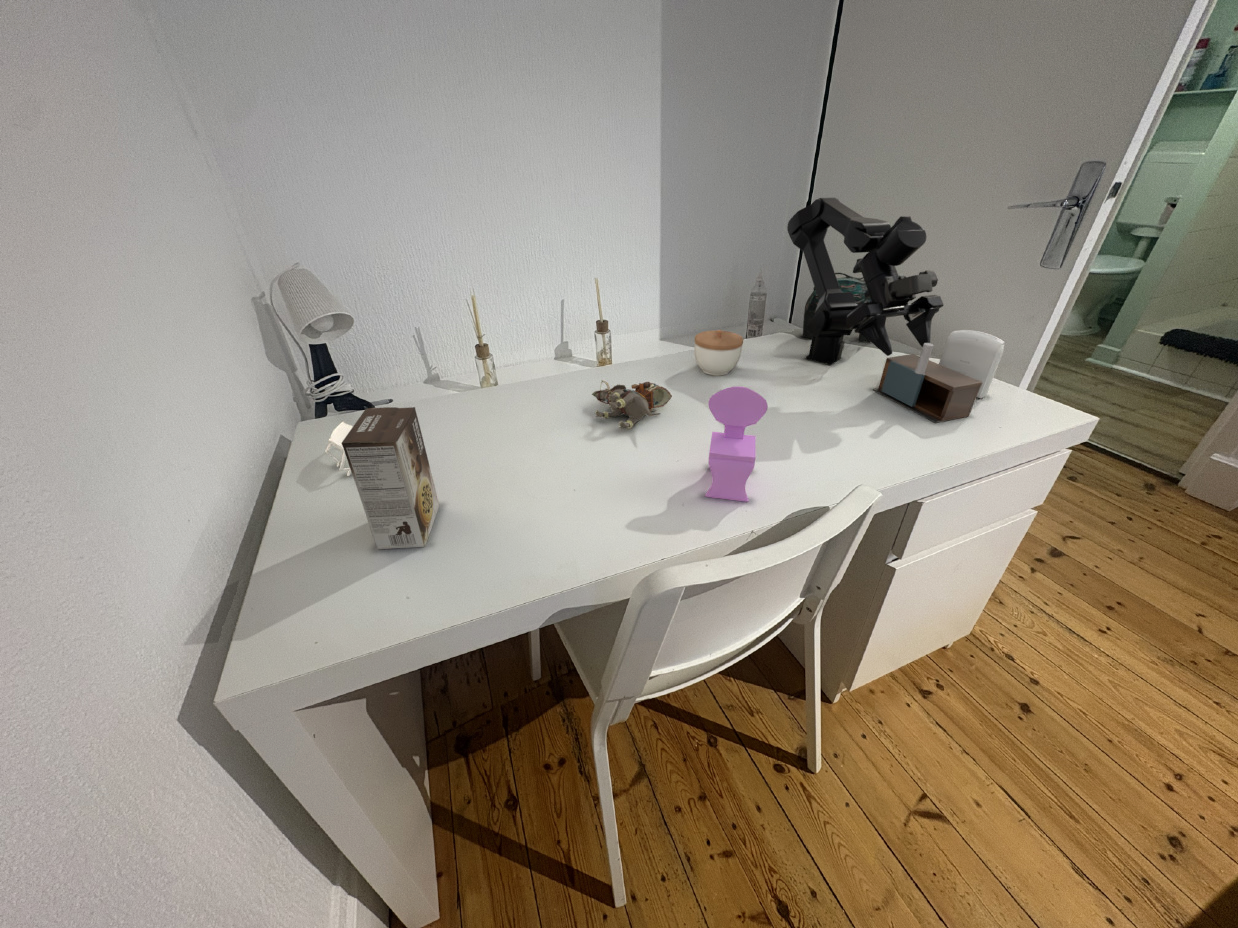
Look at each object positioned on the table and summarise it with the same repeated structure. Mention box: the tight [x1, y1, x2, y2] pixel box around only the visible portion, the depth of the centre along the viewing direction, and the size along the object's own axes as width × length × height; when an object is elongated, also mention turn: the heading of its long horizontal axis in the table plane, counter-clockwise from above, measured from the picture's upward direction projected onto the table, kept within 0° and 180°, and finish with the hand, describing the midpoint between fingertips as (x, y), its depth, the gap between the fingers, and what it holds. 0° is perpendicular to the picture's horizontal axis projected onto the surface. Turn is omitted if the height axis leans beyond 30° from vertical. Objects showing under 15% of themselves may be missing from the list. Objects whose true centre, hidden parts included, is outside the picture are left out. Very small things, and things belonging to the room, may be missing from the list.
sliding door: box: [881, 342, 934, 407], centre depth 99 cm, size 8×2×12 cm, turn 19°
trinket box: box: [693, 329, 744, 377], centre depth 115 cm, size 11×11×9 cm
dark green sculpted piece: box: [802, 272, 872, 343], centre depth 131 cm, size 20×6×20 cm, turn 77°
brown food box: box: [341, 406, 440, 550], centre depth 66 cm, size 9×6×16 cm
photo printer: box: [938, 329, 1006, 399], centre depth 104 cm, size 10×4×12 cm, turn 39°
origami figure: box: [324, 421, 354, 477], centre depth 85 cm, size 12×8×5 cm
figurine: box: [591, 380, 673, 430], centre depth 99 cm, size 20×6×17 cm
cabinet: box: [872, 353, 982, 424], centre depth 101 cm, size 16×8×7 cm, turn 19°
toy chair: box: [704, 385, 769, 502], centre depth 74 cm, size 8×9×15 cm
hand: (908, 351), depth 98 cm, fingers open, 9 cm apart
